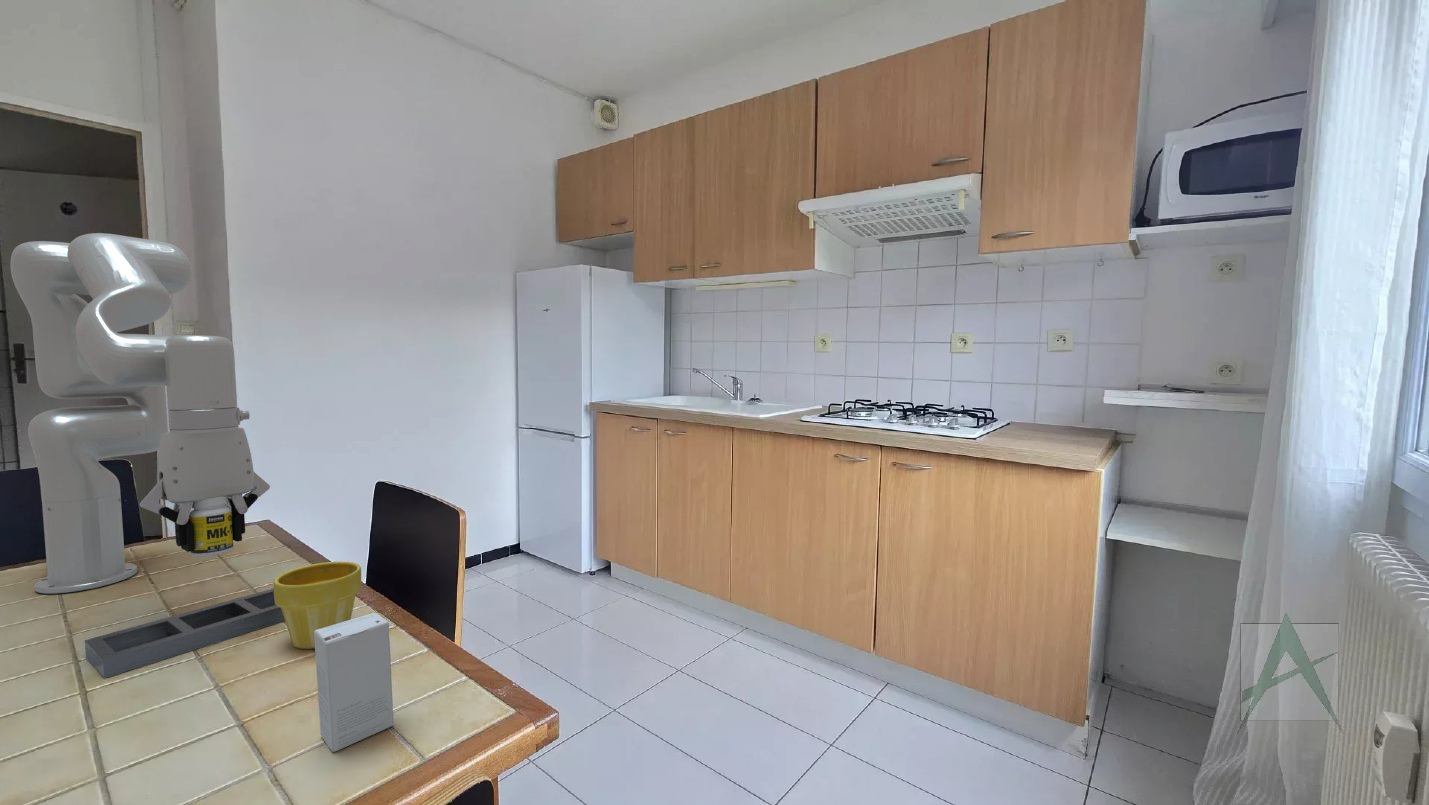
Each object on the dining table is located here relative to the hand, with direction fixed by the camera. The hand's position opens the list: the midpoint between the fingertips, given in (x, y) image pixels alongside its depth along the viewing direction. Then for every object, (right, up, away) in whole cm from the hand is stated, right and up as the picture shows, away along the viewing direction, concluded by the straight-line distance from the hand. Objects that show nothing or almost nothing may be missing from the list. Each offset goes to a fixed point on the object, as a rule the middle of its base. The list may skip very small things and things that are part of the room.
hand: (212, 543), depth 85 cm
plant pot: (+17, -14, -1) cm, 22 cm away
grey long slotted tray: (0, -13, +1) cm, 13 cm away
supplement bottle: (0, -2, 0) cm, 2 cm away
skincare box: (+35, -15, -22) cm, 44 cm away
